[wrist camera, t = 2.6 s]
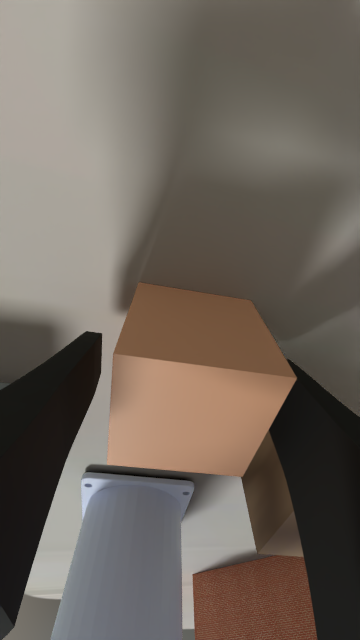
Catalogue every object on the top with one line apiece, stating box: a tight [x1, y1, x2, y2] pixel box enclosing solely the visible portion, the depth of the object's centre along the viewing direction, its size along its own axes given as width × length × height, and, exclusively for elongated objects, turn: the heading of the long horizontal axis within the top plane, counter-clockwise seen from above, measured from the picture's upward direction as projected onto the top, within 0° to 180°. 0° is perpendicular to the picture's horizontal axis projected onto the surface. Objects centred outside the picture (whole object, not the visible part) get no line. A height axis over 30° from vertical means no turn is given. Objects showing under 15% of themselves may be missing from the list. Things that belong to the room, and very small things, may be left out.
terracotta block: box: [107, 282, 297, 477], centre depth 10 cm, size 5×5×5 cm
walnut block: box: [241, 430, 304, 557], centre depth 14 cm, size 5×5×5 cm
